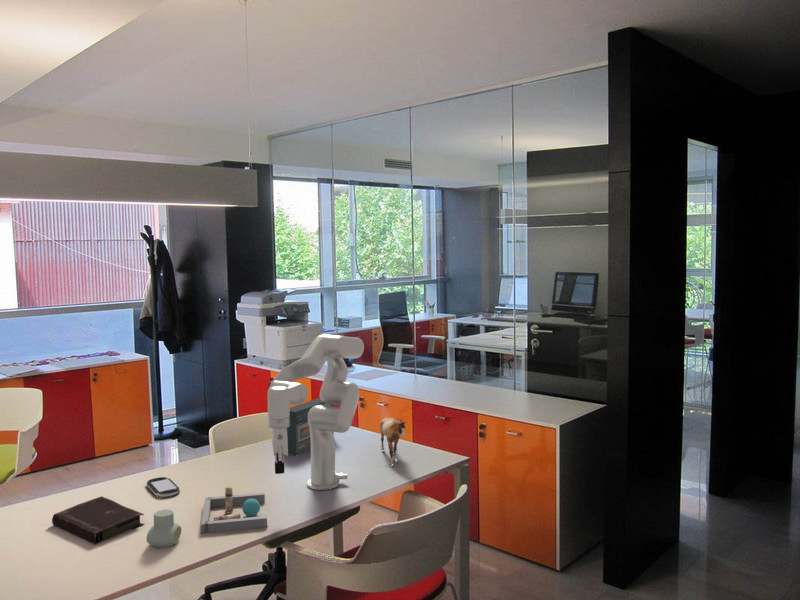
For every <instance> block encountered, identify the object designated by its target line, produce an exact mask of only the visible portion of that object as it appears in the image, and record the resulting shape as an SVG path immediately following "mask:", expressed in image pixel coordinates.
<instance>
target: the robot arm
mask: <svg viewBox="0 0 800 600" xmlns="http://www.w3.org/2000/svg"><path fill="white" fill-rule="evenodd" d="M364 344H365V343H364V341H363V340H362V339H361V338H360V337H354V336H346V335H345V336H344V335H339V334H338V335H336V334H319V335H318V336H316V337H315V338H314V339H313V340H312V342H311V344H310V345H309V347H307V349H306V351H305V352H304V353H303V355H302V356H301V358H299V359H298V360H295V361H293V362H292V363H290V364H288V365H287V366H285V367H283V368H282V369H281V370H279V372H278V373H277V374H276V375H275V377H274V378H273V379H272V381H271V382H270V384H269V388H268V389H267V427H268V428H269V429H271V444H272V452H273V456H274V457H275V460H274V474H276V475H281V474H285V461H284V460H285V457H284V456H286V457H287V456H289V454H288V434H287V427H289V426H290V408H291V407H290V406H295V405H300V404H303V403H305V402H306V400H307V398H308V396H309V390H308V387H307V386H306V385H305V384H304V383H301V382H294V381H297V380H300V379H304V378H308V377H311V376H314V375H317V374H318V373H319V372H320V371H321V370H322V369H323V367H324V366H325V363H326V362H327V367H326V372H325V375H324V378H323V382H322V384H321V387H320V391H319V398H320V399H321V401H323V402H325V403H328V404H333V406H326V405H316V406H314V407H312V408H311V409H310V410H309V412H308V424H309V429H310V437H311V449H310V478H309V479H308V480H307V481H306V485H307V487H308V488H309V489H312V490H315V491H328V489H329V490H333V489H335V488H337V487H339V485H340V480H347V479H348V474H347V473H345V474H344V473H343V472H339V473H338V472H337V471H336V440H335V435H333V433H332V432H334V433H340V434H341V433H346V432H348V431H349V430H350V428H351V426H352V423H353V420H354V417H355V413H356V410H357V407H358V404H359V400H360V389H359V386H358V384H356V383H355V382H353V381H347V377H348V375H349V370H348V369H349V368H348V366H347V364H346V361H345V360H344V359H359V358H361V357H362V355H363V353H364V350H365V345H364ZM334 405H336V406H334ZM338 406H339V407H338ZM332 488H333V489H332Z"/></svg>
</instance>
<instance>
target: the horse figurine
mask: <svg viewBox="0 0 800 600" xmlns="http://www.w3.org/2000/svg"><path fill="white" fill-rule="evenodd" d="M406 423H407V422H406V421H405V422H404V421H403V419H400V418H396V419H395V418H394V417H389V416H388V417H385V418H383V419H381V421H380V423H379V424H380V425H379V427H380V430H379V431H380V441H381V446H380V447H381V450H385V448H384V446H385V444H384V440H385V438H384V437H386V441H387V445H388V450H389V455H390V463H389V464H391V465H392V464H394V459H397V460H398V458H397V453H396V452H397V448H398V447H397V445H398V442H399V439H400V438H402V439H403V438H404V437H405V429H406V425H405V424H406ZM393 453H394V454H393ZM393 457H394V458H393Z"/></svg>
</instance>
